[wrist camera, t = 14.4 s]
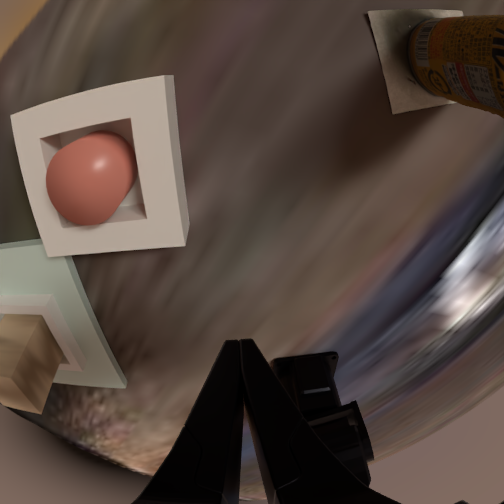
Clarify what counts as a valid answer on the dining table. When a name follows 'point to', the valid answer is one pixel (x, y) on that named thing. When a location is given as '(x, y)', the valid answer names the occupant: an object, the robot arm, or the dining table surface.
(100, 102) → the button housing
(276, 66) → the dining table surface
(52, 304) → the tray
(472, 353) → the dining table surface
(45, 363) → the block
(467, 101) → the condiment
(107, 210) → the button
